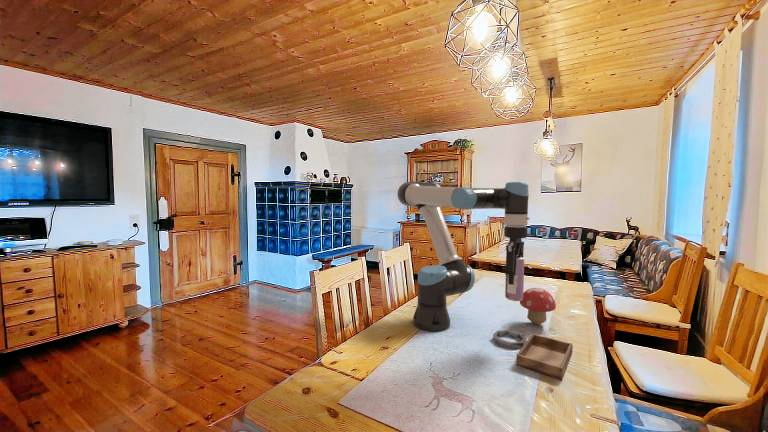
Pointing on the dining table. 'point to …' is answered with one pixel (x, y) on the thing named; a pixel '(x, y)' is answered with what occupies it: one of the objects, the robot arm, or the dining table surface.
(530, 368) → the crate
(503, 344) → the collar
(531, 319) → the decorative mushroom
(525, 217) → the robot arm
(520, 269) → the beverage can
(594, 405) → the dining table surface
